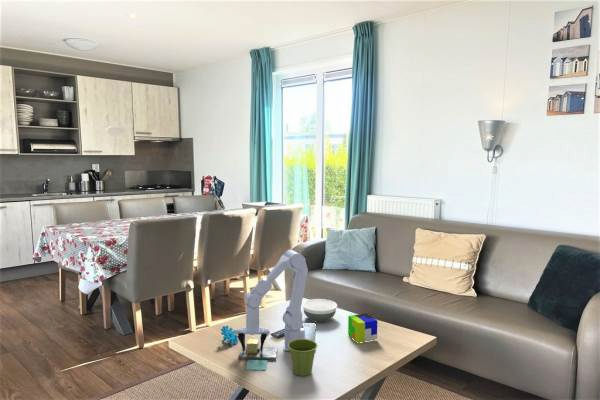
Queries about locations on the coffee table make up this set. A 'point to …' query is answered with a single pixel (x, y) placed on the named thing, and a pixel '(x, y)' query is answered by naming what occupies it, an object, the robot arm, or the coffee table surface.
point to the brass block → (253, 347)
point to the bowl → (319, 309)
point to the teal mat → (256, 365)
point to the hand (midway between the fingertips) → (252, 350)
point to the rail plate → (260, 354)
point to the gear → (229, 335)
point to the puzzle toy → (362, 327)
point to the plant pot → (302, 355)
